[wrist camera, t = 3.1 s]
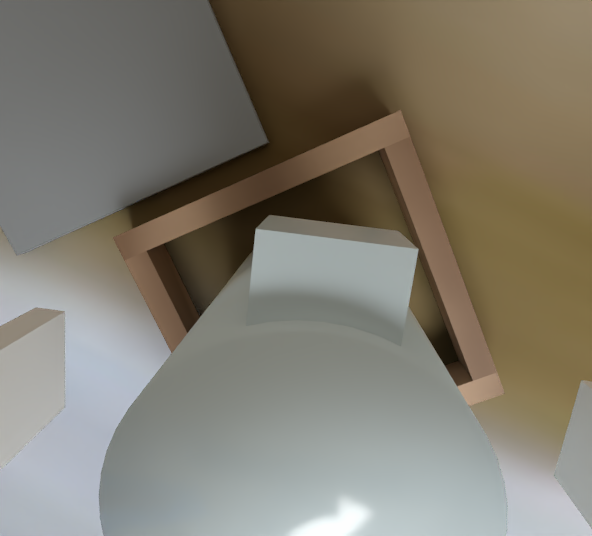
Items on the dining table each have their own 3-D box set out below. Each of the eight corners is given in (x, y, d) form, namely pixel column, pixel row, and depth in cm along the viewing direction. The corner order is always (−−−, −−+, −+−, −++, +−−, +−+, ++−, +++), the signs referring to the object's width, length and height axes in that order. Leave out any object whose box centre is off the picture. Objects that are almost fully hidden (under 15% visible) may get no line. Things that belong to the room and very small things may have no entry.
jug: (244, 180, 20) (106, 215, 7) (410, 201, 19) (575, 274, 7) (219, 458, 23) (90, 833, 10) (362, 478, 22) (415, 885, 10)
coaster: (25, 252, 21) (16, 255, 20) (-125, -19, 19) (-140, -25, 18) (269, 142, 19) (267, 141, 19) (136, -170, 17) (129, -181, 16)
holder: (246, 457, 23) (239, 485, 21) (132, 230, 20) (112, 237, 18) (487, 371, 21) (504, 393, 19) (392, 115, 19) (400, 110, 17)
